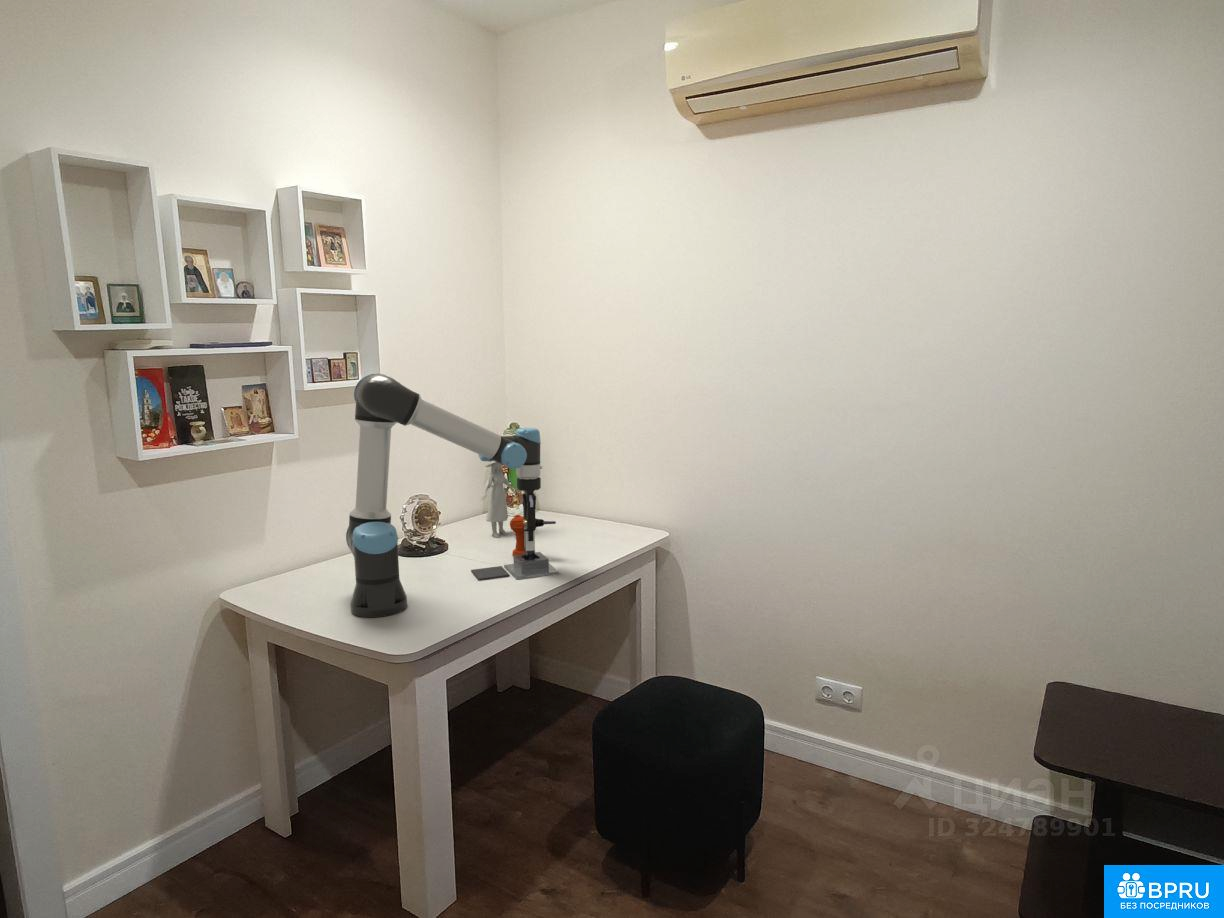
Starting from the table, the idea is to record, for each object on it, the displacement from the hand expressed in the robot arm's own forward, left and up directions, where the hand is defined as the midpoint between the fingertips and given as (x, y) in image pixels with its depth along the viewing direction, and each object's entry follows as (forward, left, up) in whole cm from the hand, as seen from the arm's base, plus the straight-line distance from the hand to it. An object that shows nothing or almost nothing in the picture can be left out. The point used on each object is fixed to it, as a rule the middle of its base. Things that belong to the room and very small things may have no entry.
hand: (529, 548), depth 245 cm
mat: (-13, +2, -7) cm, 15 cm away
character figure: (+2, +47, -8) cm, 48 cm away
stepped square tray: (0, 0, -7) cm, 7 cm away
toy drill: (+5, +13, -8) cm, 16 cm away
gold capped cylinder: (0, 0, -5) cm, 5 cm away
